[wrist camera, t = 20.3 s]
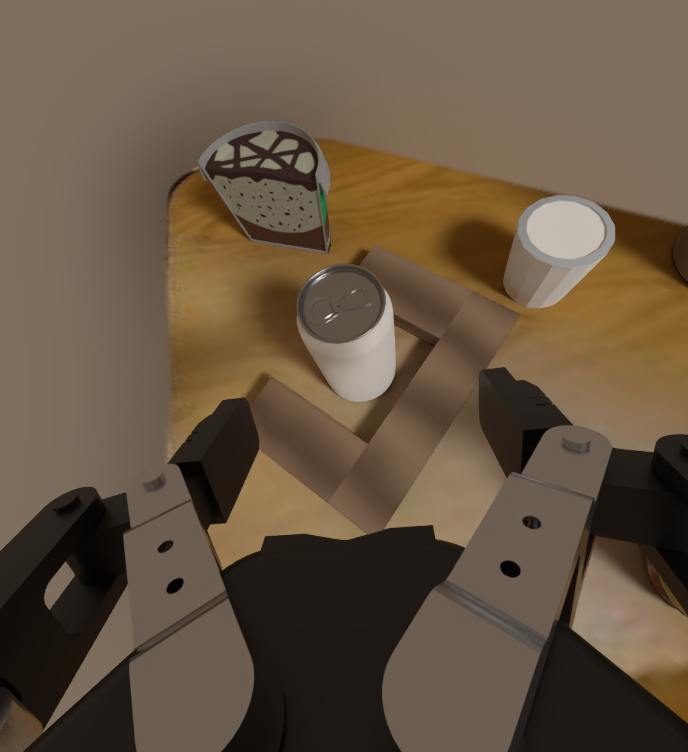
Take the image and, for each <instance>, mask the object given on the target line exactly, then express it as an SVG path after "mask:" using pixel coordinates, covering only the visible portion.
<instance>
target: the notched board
mask: <svg viewBox="0 0 688 752" xmlns="http://www.w3.org/2000/svg"><path fill="white" fill-rule="evenodd" d="M359 266H361V267H364V268H366V269H368V270H369V271H371V272H372V273H373V274H375V275H376V276H377V278H378V279H379V280H380V282H381V283H382V285H383V288H384V289H385V290H386V292H387V293H388V295H389V297H390V300H391V303H392V307H393V316H394V324H395V325H397V326H398V327H400V328H402V329H404V330H406V331H408V332H409V333H411V334H413V335H415V336H417V337H418V338H420V339H422V340H424V341H426V342H428V343H429V344H431V345H433V346H435V347H434V348H433V350H432V351H431V353H430V354H429V356H428V357H427V358H426V360H425V361H424V363H423V364H422V366H421V367H420V369H419V370H418V372H417V373H416V375H415V376H414V378H413V379H412V380H411V382H410V383H409V385H408V386H407V388H406V389H405V391H404V392H403V394H402V395H401V397H400V398H399V399H398V401H397V402H396V404H395V405H394V407H393V408H392V410H391V411H390V413H389V414H388V416H387V417H386V419H385V420H384V421H383V423H382V424H381V426H380V427H379V429H378V430H377V432H376V433H375V435H374V436H373V438H372V439H371V440H370V442H369V443H368V444H367V443H366V442H364V441H363V440H361V439H360V438H358V437H357V436H355V435H354V434H352V433H351V432H350V431H348V430H347V429H345V428H344V427H342V426H341V425H339V424H338V423H337V422H335V421H334V420H332V419H331V418H329V417H328V416H326V415H325V414H324V413H322V412H321V411H319V410H318V409H316V408H315V407H313V406H312V405H310V404H309V403H308V402H306V401H305V400H303V399H302V398H300V397H299V396H297V395H296V394H295V393H293V392H292V391H290V390H289V389H287V388H286V387H284V386H283V385H281V384H280V383H279V382H277V381H276V380H274V379H273V378H271V379H270V380H269V381H268V382H267V384H266V385H265V386H264V388H263V389H262V390H261V391H260V393H259V394H258V395H257V397H256V398H255V399H254V400H253V402H252V403H251V404H250V405H249V406H250V409H251V412H252V416H253V419H254V422H255V425H256V428H257V432H258V435H259V450H261V451H262V452H263V453H265V454H266V455H267V456H268V457H270V458H271V459H272V460H273V461H275V462H276V463H277V464H279V465H280V466H281V467H282V468H284V469H285V470H286V471H287V472H289V473H290V474H291V475H293V476H294V477H295V478H296V479H298V480H299V481H300V482H301V483H303V484H304V485H305V486H307V487H308V488H309V489H310V490H312V491H313V492H314V493H315V494H317V495H318V496H319V497H321V498H322V499H323V500H324V501H326V502H327V503H328V504H329V505H331V506H332V507H333V508H335V509H336V510H337V511H338V512H340V513H341V514H342V515H343V516H345V517H346V518H347V519H349V520H350V521H351V522H352V523H354V524H355V525H356V526H357V527H359V528H360V529H361V530H363V531H364V532H365V533H366V534H371V533H374V532H378V531H381V530H384V528H385V527H386V525H387V523H388V522H389V520H390V519H391V517H392V516H393V514H394V513H395V511H396V509H397V508H398V506H399V505H400V503H401V502H402V500H403V498H404V497H405V495H406V494H407V492H408V491H409V489H410V487H411V486H412V484H413V483H414V481H415V480H416V478H417V476H418V475H419V473H420V472H421V470H422V469H423V467H424V465H425V464H426V462H427V461H428V459H429V458H430V456H431V454H432V453H433V451H434V450H435V448H436V447H437V445H438V443H439V442H440V440H441V439H442V437H443V436H444V434H445V432H446V431H447V429H448V428H449V426H450V425H451V423H452V421H453V420H454V418H455V417H456V415H457V414H458V412H459V410H460V409H461V407H462V406H463V404H464V403H465V401H466V399H467V398H468V396H469V395H470V393H471V392H472V390H473V388H474V387H475V385H476V384H477V382H478V381H479V372H480V370H485V369H486V368H487V366H488V365H489V363H490V362H491V360H492V359H493V357H494V356H495V354H496V352H497V351H498V349H499V348H500V346H501V345H502V343H503V341H504V340H505V338H506V337H507V335H508V334H509V332H510V330H511V329H512V327H513V326H514V324H515V322H516V321H517V319H518V318H519V316H520V314H519V313H517V312H515V311H513V310H511V309H509V308H507V307H505V306H503V305H501V304H498V303H496V302H494V301H492V300H490V299H488V298H486V297H484V296H482V295H480V294H477V293H475V292H473V291H471V290H469V289H467V288H465V287H463V286H461V285H459V284H456V283H454V282H452V281H450V280H448V279H446V278H444V277H442V276H440V275H438V274H435V273H433V272H431V271H429V270H427V269H425V268H423V267H421V266H419V265H417V264H414V263H412V262H410V261H408V260H406V259H404V258H402V257H400V256H398V255H396V254H393V253H391V252H389V251H387V250H385V249H383V248H381V247H379V246H377V245H374V247H373V248H372V249H371V251H370V252H369V253H368V254H367V256H366V257H365V258H364V260H363V261H362V262H361V263H360V265H359Z"/></svg>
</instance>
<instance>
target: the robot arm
mask: <svg viewBox="0 0 688 752" xmlns="http://www.w3.org/2000/svg"><path fill="white" fill-rule="evenodd" d="M673 258H674V262H675V265H676V267H677V269H678V271H679V272H680V274H681V275H682V277H683V278H684V279H685V280H686V281H687V282H688V226H687V227H686V228H685V229H684V230H683V231H682V232H681V233H680V234H679V236H678V238H677V239H676V241H675V244H674V248H673ZM479 418H480V423H481V427H482V430H483V432H484V434H485V436H486V438H487V440H488V442H489V444H490V446H491V448H492V450H493V452H494V454H495V456H496V458H497V460H498V462H499V464H500V466H501V468H502V470H503V472H504V474H505V476H506V478H507V480H506V481H505V483H504V485H503V486H502V488H501V490H500V491H499V493H498V495H497V496H496V498H495V500H494V501H493V503H492V505H491V506H490V508H489V510H488V511H487V513H486V515H485V516H484V518H483V520H482V521H481V523H480V525H479V526H478V528H477V530H476V531H475V533H474V535H473V536H472V538H471V540H470V541H469V543H468V545H467V546H466V548H465V547H462V546H459V545H457V544H454V543H450V542H447V541H443V540H437V539H435V534H434V529H433V525H428V526H413V527H399V528H388V529H385V530H381V531H378V532H374V533H371V534H367V535H364V536H360V537H357V538H354V539H350V540H338V539H332V538H327V537H321V536H315V535H309V534H294V535H279V536H265V538H264V541H263V545H262V548H261V551H258V552H255V553H253V554H250V555H248V556H245V557H244V558H242V559H240V560H238V561H236V562H234V563H233V564H231V565H230V566H228V567H227V568H225V569H224V570H223V568H222V565H221V563H220V560H219V558H218V555H217V553H216V550H215V548H214V546H213V543H212V541H211V538H210V536H209V534H208V531H207V530H208V528H209V526H210V524H222V523H226V522H227V520H228V518H229V516H230V513H231V511H232V509H233V507H234V504H235V502H236V500H237V498H238V496H239V493H240V491H241V489H242V487H243V484H244V482H245V480H246V478H247V475H248V473H249V471H250V469H251V466H252V464H253V462H254V460H255V457H256V455H257V453H258V450H259V435H258V432H257V428H256V425H255V422H254V419H253V416H252V412H251V409H250V406H249V403H248V401H247V400H246V398H236V399H227V400H223V401H222V402H221V403H220V404H219V406H218V407H217V408H216V410H215V411H214V412H213V414H212V415H209V416H208V417H207V418H205V419H204V420H203V421H201V422H200V423H198V425H197V426H196V427H195V429H194V430H193V431H192V432H191V435H189V436H188V438H187V439H186V440H185V441H186V442H184V443H183V444H182V445H181V447H180V448H179V449H178V451H177V452H176V453H175V454H174V456H173V457H172V458H171V460H170V461H169V462H168V463H167V464H163V465H159V466H155V467H153V468H150V469H148V470H146V471H145V472H143V473H141V474H140V475H138V476H137V477H136V478H135V479H134V480H133V481H132V482H131V483H130V484H129V486H128V488H127V490H126V493H122V494H119V495H116V496H112V497H109V498H106V499H101V497H100V496H99V494H98V492H97V491H96V489H95V488H93V487H82V488H78V489H75V490H72V491H70V492H67V493H65V494H63V495H61V496H60V497H58V498H56V499H54V500H53V501H52V502H50V503H49V504H48V505H46V506H45V507H44V508H43V509H42V510H41V511H40V512H39V513H38V514H37V515H36V516H35V517H34V518H33V519H32V520H31V521H30V522H29V523H28V524H27V525H26V526H25V527H24V528H23V529H22V530H21V531H20V532H19V533H18V534H17V535H16V536H15V537H14V538H13V539H12V540H11V541H10V542H9V543H8V544H7V545H6V546H5V547H4V548H3V549H2V550H1V551H0V752H688V723H687V722H685V721H684V720H683V719H682V718H680V717H679V716H678V715H677V714H675V713H674V712H673V711H672V710H671V709H669V708H668V707H667V706H666V705H664V704H663V703H662V702H661V701H659V700H658V699H657V698H656V697H655V696H653V695H652V694H651V693H650V692H648V691H647V690H646V689H645V688H643V687H642V686H641V685H640V684H639V683H637V682H636V681H635V680H634V679H632V678H631V677H630V676H629V675H627V674H626V673H625V672H624V671H623V670H621V669H620V668H619V667H618V666H616V665H615V664H614V663H613V662H611V661H610V660H609V659H608V658H606V657H605V656H604V655H603V654H602V653H600V652H599V651H598V650H597V649H595V648H594V647H593V646H592V645H590V644H589V643H588V642H587V641H586V640H584V639H583V638H582V637H581V636H579V635H578V634H577V633H576V632H574V631H573V630H572V626H573V622H574V618H575V613H576V608H577V604H578V600H579V596H580V592H581V588H582V585H583V581H584V578H585V574H586V571H587V567H588V564H589V560H590V557H591V553H592V550H593V546H594V543H595V539H596V536H600V537H605V538H611V539H616V540H622V541H627V542H632V543H637V544H638V546H639V547H640V548H641V550H642V551H643V553H644V554H645V556H646V557H647V558H648V560H649V561H650V563H651V564H652V565H653V567H654V568H655V570H656V571H657V573H658V574H659V575H660V577H661V578H662V580H663V581H664V582H665V584H666V585H667V587H668V588H669V589H670V591H671V592H672V594H673V595H674V597H675V598H676V599H677V601H678V602H679V604H680V605H681V606H682V608H683V609H684V611H685V612H686V614H687V615H688V435H684V434H675V435H668V436H664V437H662V438H660V439H658V441H657V442H656V445H655V449H654V452H645V451H634V450H624V449H617V448H612V446H611V443H610V441H609V440H608V439H607V438H606V437H604V436H603V435H601V434H600V433H598V432H596V431H594V430H591V429H588V428H584V427H579V426H574V425H573V424H572V423H571V422H570V421H569V420H568V419H567V418H566V417H565V416H564V415H563V414H562V412H561V411H560V410H559V409H558V408H557V407H556V406H555V405H553V404H552V402H551V401H550V399H549V398H548V397H546V395H545V394H544V393H543V392H542V391H541V390H540V389H539V387H537V386H535V385H533V384H531V383H529V382H527V381H525V380H519V381H516V380H515V379H514V378H513V376H512V375H511V374H510V373H509V372H508V370H507V369H506V368H504V367H502V368H494V369H485V370H480V372H479ZM65 561H66V562H67V564H68V565H69V567H70V568H71V569H72V571H73V572H74V574H75V576H74V578H73V579H72V580H71V582H70V583H69V585H68V586H67V587H66V589H65V590H64V591H63V593H62V594H61V595H60V597H59V598H58V600H57V601H56V602H55V604H54V605H53V606H52V608H51V609H50V610H49V609H48V608H47V607H46V605H45V602H44V594H45V590H46V587H47V585H48V583H49V582H50V580H51V579H52V578H53V576H54V575H55V574H56V573H57V571H58V570H59V569H60V568H61V566H62V565H63V564H64V562H65ZM127 584H128V588H129V598H130V608H131V618H132V628H133V638H134V651H133V652H132V653H131V654H130V655H128V656H127V657H126V658H125V659H124V660H123V661H122V662H121V663H120V664H119V665H117V666H116V667H115V668H114V669H113V670H112V671H111V672H110V673H109V674H108V675H106V676H105V677H104V678H103V679H102V680H101V681H100V682H99V683H98V684H97V685H95V686H94V687H93V688H92V689H91V690H90V691H89V692H88V693H87V694H86V695H84V696H83V697H82V698H81V699H80V700H79V701H78V702H77V703H76V704H74V705H73V706H72V707H71V708H70V709H69V710H68V711H67V712H66V713H65V714H64V715H62V716H61V717H60V718H59V719H58V720H57V721H56V722H55V723H54V724H52V725H51V726H50V727H49V728H48V729H47V730H46V731H45V732H44V733H43V730H44V728H45V727H46V725H47V723H48V721H49V719H50V718H51V716H52V714H53V712H54V711H55V709H56V707H57V705H58V704H59V702H60V700H61V699H62V697H63V695H64V694H65V692H66V690H67V688H68V687H69V685H70V683H71V681H72V680H73V678H74V676H75V674H76V672H77V671H78V669H79V667H80V666H81V664H82V662H83V661H84V659H85V657H86V655H87V654H88V652H89V650H90V648H91V647H92V645H93V643H94V641H95V640H96V638H97V636H98V635H99V633H100V631H101V629H102V628H103V626H104V624H105V622H106V621H107V619H108V617H109V615H110V614H111V612H112V610H113V609H114V607H115V605H116V603H117V602H118V600H119V598H120V597H121V595H122V593H123V591H124V590H125V588H126V586H127Z"/></svg>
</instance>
